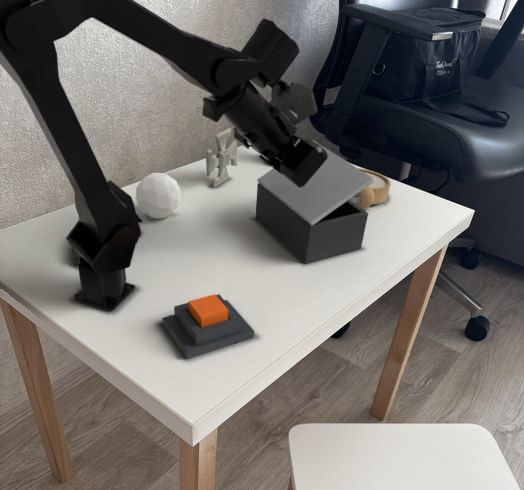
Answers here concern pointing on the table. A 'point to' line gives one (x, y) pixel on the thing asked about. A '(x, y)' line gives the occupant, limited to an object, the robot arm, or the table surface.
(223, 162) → the cross
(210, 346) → the block
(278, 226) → the open storage box
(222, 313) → the button
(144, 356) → the table surface
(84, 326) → the table surface
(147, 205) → the geometric ball
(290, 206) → the lid
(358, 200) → the alarm clock
